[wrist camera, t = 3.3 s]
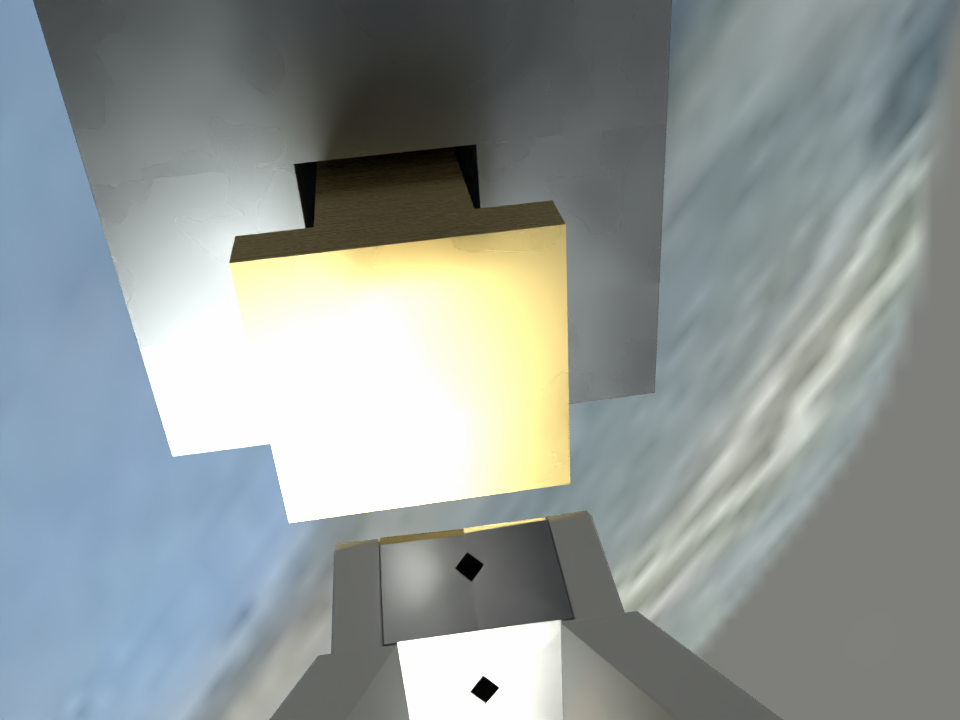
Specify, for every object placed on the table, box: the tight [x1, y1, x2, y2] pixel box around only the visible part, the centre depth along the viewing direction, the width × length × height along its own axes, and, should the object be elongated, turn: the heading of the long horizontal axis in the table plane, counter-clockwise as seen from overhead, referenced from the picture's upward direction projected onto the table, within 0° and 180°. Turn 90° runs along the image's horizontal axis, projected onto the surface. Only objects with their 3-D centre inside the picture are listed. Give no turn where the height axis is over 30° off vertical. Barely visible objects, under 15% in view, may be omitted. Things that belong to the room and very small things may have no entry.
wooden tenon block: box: [229, 147, 570, 523], centre depth 18 cm, size 5×5×8 cm
